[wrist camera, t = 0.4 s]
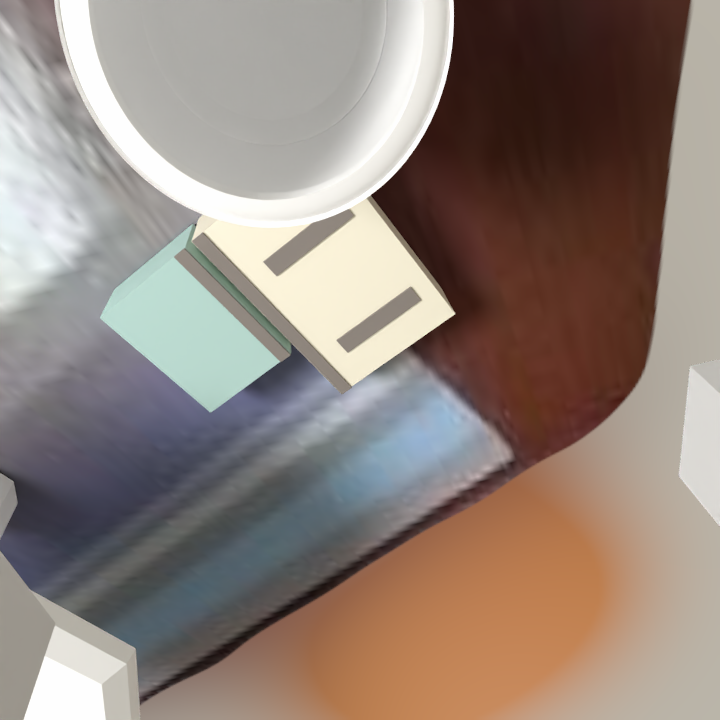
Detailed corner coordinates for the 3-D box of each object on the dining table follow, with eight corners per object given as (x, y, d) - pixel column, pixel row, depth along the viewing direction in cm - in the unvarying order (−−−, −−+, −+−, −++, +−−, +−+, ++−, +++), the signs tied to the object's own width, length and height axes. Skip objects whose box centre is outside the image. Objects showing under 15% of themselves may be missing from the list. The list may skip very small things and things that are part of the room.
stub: (114, 289, 35) (99, 319, 32) (193, 223, 34) (185, 247, 31) (215, 379, 39) (210, 413, 36) (289, 324, 37) (291, 354, 34)
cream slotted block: (198, 218, 34) (190, 242, 31) (314, 121, 32) (318, 136, 29) (335, 362, 39) (341, 394, 36) (440, 287, 37) (455, 314, 34)
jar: (384, 117, 32) (457, 208, 19) (181, 140, 32) (119, 249, 19) (369, -146, 26) (457, -262, 14) (122, -124, 26) (-24, -224, 13)
